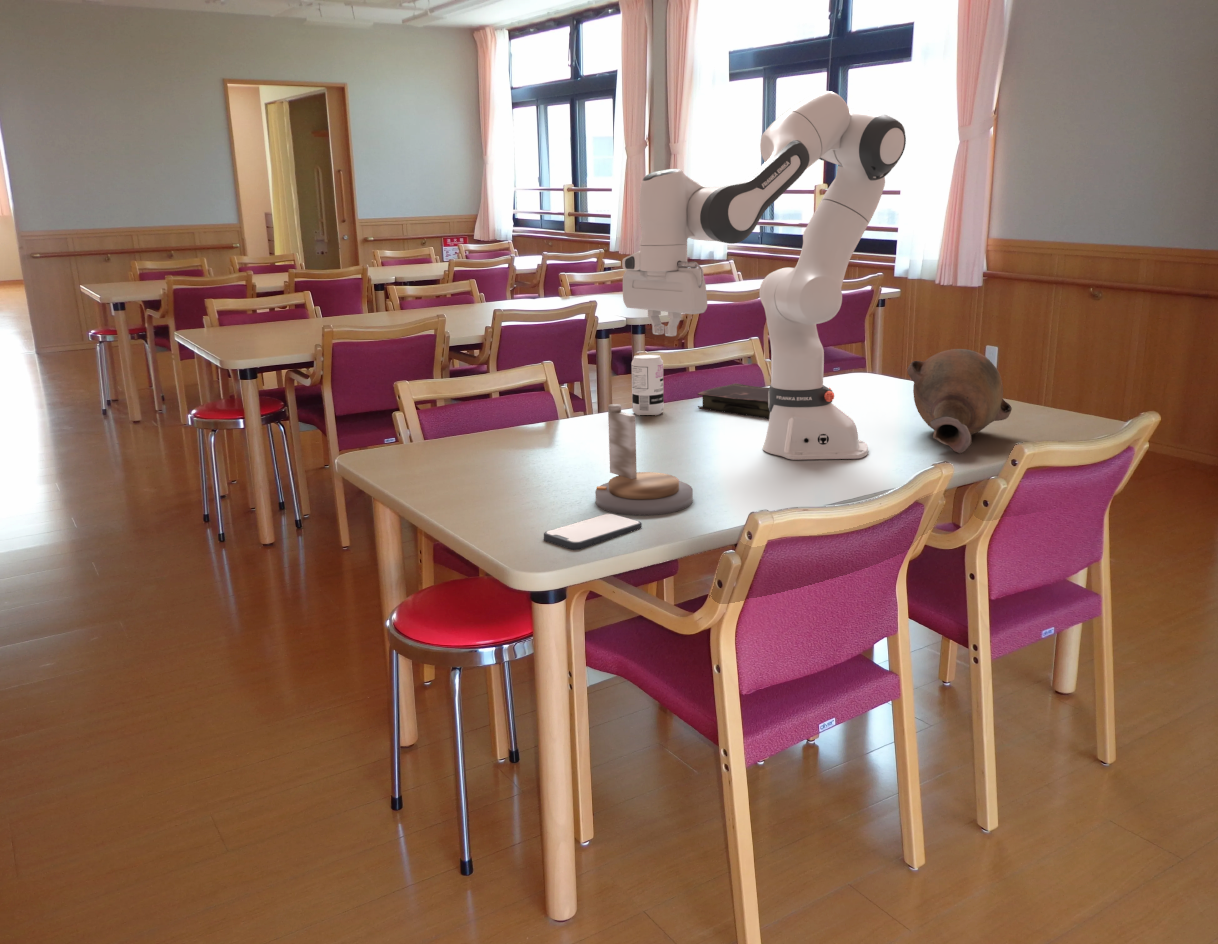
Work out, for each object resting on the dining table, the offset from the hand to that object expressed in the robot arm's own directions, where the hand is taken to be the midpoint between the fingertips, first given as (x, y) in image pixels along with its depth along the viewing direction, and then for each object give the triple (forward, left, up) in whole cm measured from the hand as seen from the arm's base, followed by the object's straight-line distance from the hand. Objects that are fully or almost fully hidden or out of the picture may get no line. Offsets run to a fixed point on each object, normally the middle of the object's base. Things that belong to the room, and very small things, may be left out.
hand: (664, 335), depth 187 cm
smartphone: (+7, +32, -30) cm, 44 cm away
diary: (-10, -73, -30) cm, 80 cm away
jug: (-57, -43, -29) cm, 78 cm away
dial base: (+2, +12, -29) cm, 32 cm away
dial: (+3, +12, -27) cm, 29 cm away
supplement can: (+17, -65, -29) cm, 73 cm away
